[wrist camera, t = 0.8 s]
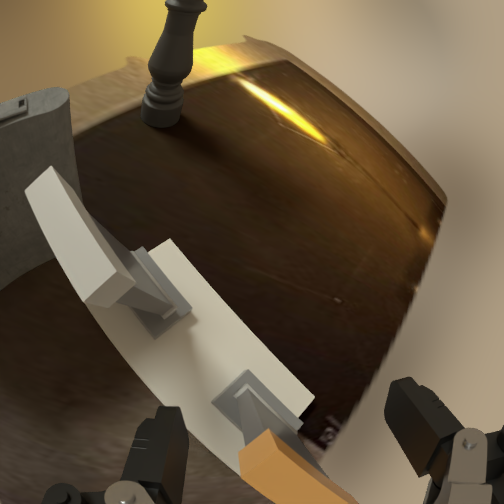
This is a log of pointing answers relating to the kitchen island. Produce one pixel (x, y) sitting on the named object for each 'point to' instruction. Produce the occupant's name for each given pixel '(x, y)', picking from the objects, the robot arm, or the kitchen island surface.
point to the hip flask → (31, 173)
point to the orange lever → (280, 457)
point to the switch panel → (200, 355)
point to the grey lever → (92, 251)
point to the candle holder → (171, 64)
